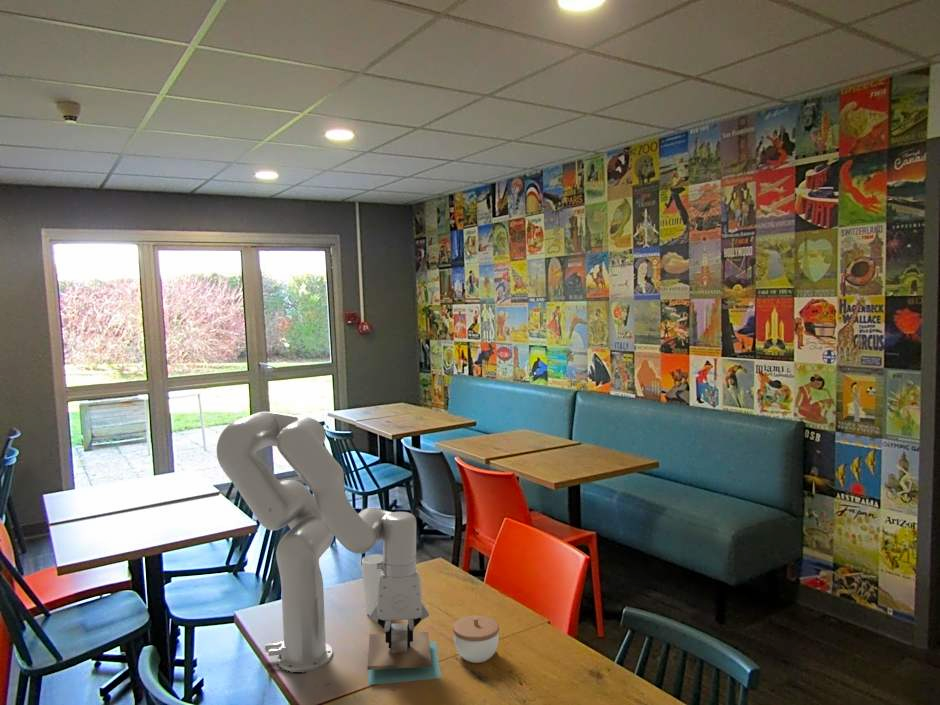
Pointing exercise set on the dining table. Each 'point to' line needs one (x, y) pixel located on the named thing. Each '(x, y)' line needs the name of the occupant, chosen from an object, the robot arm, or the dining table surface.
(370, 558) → the drinking glass
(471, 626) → the lidded jar
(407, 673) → the teal mat
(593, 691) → the dining table surface
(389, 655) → the walnut cover
